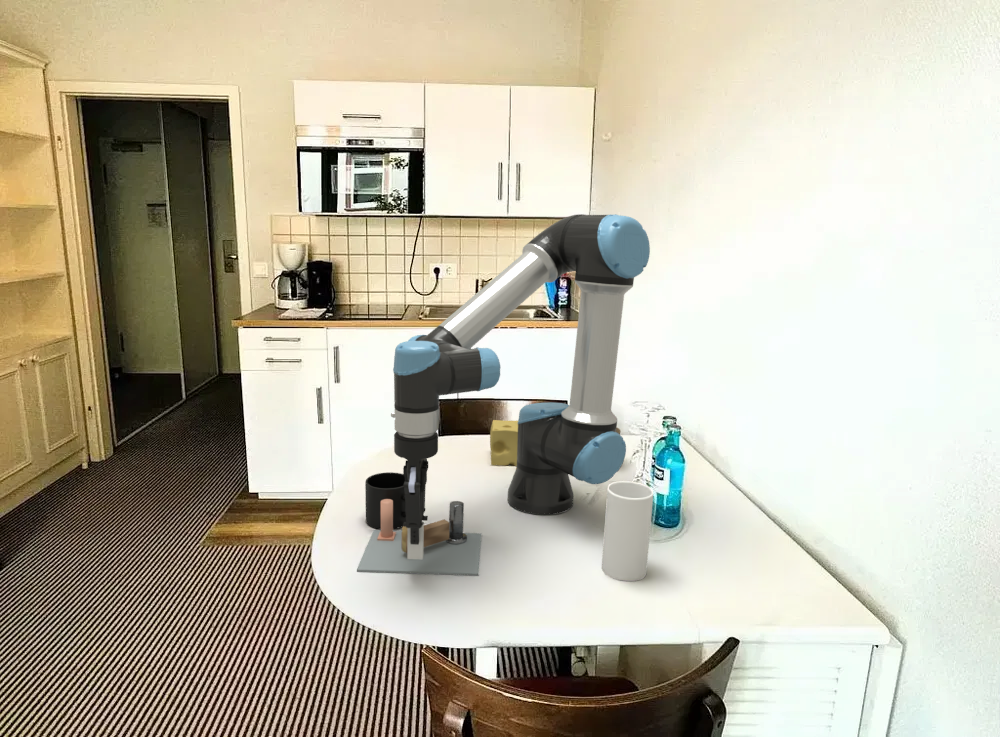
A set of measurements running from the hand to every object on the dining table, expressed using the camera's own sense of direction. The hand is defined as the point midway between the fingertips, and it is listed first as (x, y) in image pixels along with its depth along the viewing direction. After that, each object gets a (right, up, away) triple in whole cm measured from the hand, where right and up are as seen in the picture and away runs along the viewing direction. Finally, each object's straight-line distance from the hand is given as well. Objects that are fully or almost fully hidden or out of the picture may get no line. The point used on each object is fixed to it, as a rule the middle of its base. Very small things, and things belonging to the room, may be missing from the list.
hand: (415, 557), depth 119 cm
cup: (+38, -4, +5) cm, 39 cm away
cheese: (+18, +9, +60) cm, 64 cm away
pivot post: (+6, -1, +13) cm, 15 cm away
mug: (-8, +1, +21) cm, 22 cm away
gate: (+1, 0, +9) cm, 9 cm away
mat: (0, -2, +9) cm, 9 cm away
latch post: (-7, 0, +13) cm, 15 cm away
